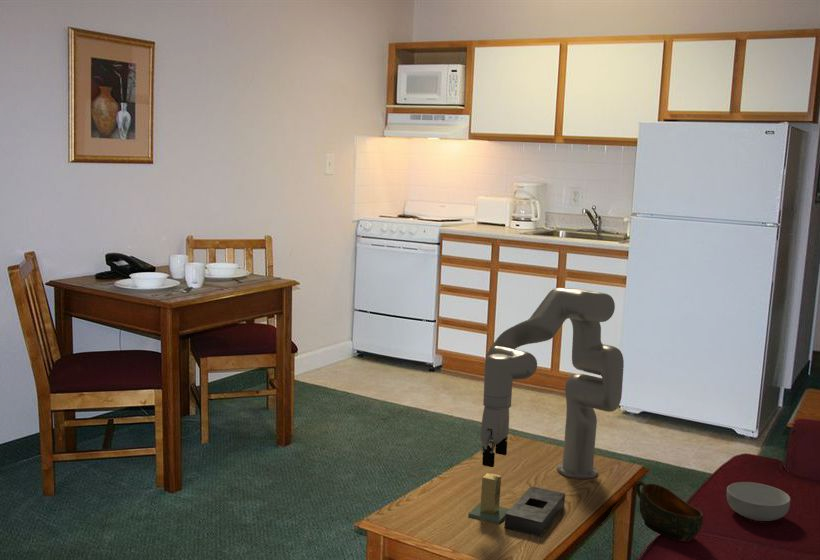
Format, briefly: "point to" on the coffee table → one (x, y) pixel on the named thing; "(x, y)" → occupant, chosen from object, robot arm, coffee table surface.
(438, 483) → the coffee table surface
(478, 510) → the green mat
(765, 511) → the cereal bowl
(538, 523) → the dark square-hole plate
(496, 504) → the brass plug
